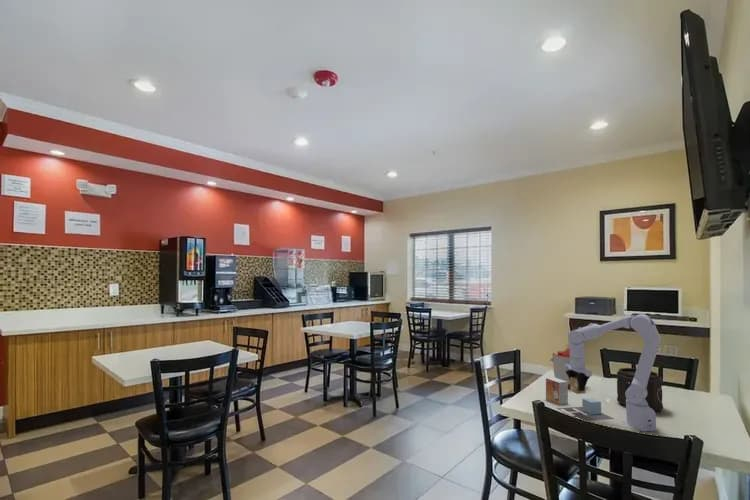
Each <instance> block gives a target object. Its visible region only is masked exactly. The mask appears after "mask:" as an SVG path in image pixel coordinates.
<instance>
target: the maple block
mask: <svg viewBox="0 0 750 500" xmlns="http://www.w3.org/2000/svg"><path fill="white" fill-rule="evenodd" d="M570 383H571V388H570V391H571V392H572V393H574V394H577V395H578V394H579V395H580V394H583V395H584V394H586V389H585V390H584V391H579V387H578V380H577V377H570Z"/></svg>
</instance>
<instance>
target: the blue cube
mask: <svg viewBox="0 0 750 500" xmlns="http://www.w3.org/2000/svg"><path fill="white" fill-rule="evenodd" d="M581 403H582V407H583V411H585V412H587V413H589V414H601V413H602V401H600V400H598V399H595V398H593V397H589V398H588V397H587V398H586V397H584V398H582V402H581Z"/></svg>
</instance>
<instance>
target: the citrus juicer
mask: <svg viewBox="0 0 750 500" xmlns="http://www.w3.org/2000/svg"><path fill="white" fill-rule="evenodd" d="M549 361H550V362H552V363H553V374H554V377H555V378H558V379H561V380H564V381H567V382H568V389H571V383H570V380H569V377H568V375H567V373H566V371H568V370H569V369H565V368H564V364H570V347H569V348H568V347H567V348H566V349H565V350H563V351H561V350H560V351H557V353H556V352H555V353H554V352H552V358H550V360H549ZM579 374H580V373H579Z"/></svg>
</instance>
